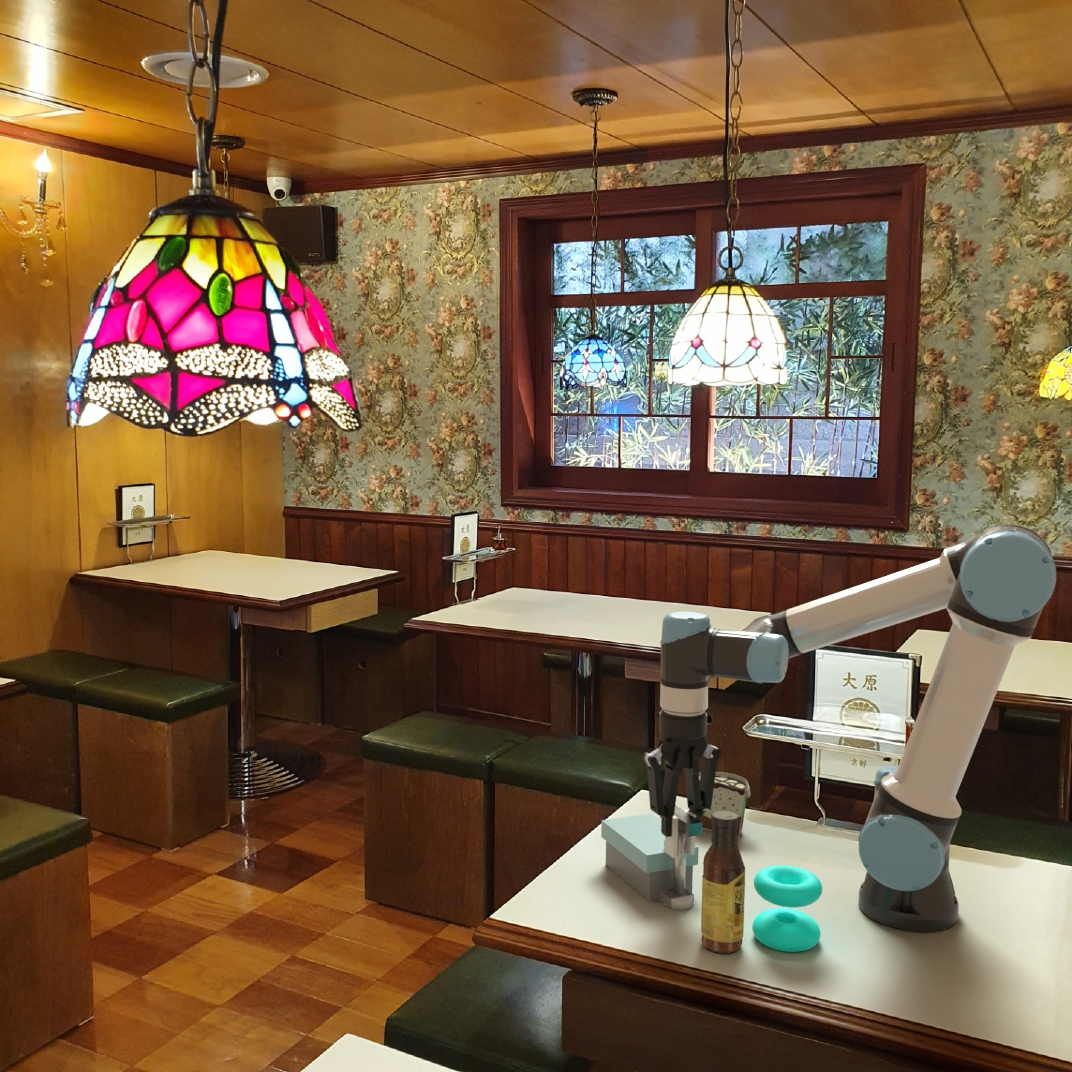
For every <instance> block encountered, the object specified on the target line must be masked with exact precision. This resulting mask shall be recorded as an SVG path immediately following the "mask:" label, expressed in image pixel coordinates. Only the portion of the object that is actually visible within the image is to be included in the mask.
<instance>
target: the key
mask: <svg viewBox="0 0 1072 1072" xmlns="http://www.w3.org/2000/svg"><path fill="white" fill-rule="evenodd" d="M684 810H685V809H682V808H681V807H679V806H678V805H676V804H675V811H674V815H675V816H676V817H678V850H677V858H673V893H674V894H678V895H682V894H685V879H686V840H687V837H691V836H695V837H697V836H702V835H703V829H702V822H701V821H699V820H698V819H696V818H695V817H693V816H692V815H690V814H689V813H687V812H685V811H684ZM659 818H660V819H661V816H659ZM664 847H665V839H664Z"/></svg>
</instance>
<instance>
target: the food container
mask: <svg viewBox="0 0 1072 1072" xmlns="http://www.w3.org/2000/svg"><path fill="white" fill-rule="evenodd" d="M700 776H701V772H699V783H700ZM751 795H752V794H751V788H750V785H749V782H748V780H747V779H746V778H744V777H743V776H740V775H738V774H734V773H730V772H729V773H728V772H722V771H721V772H720V771H716V774H715V782H714V790H713V798H712V805H711V807H710V808H709V809H707V808H706V809H704V810H703V811H704V814H703V815H702V816H700V821H701V822H702V830H704V831H710V832H712V824H711V815H712V813H713V812H717V811H729V812H733V813H736V814H737V815H738V816H739V825H738V827H737V831H738V833H737V838H741V836H742V833H743V826H744V818H745V813H746V806H747V798H750V797H751Z"/></svg>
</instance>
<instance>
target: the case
mask: <svg viewBox="0 0 1072 1072" xmlns="http://www.w3.org/2000/svg"><path fill="white" fill-rule="evenodd" d="M605 866H607V867H608V868H609V869H610V870H611V871H613V872H614V873H615V874H616V875H617V874H618V875H617V876H618V877H619V878H620V879H623V881H624V882H626V883H627V884H628V885H629V886H630V887H632V888H633V890H635V891H637V892H638V893H639V894H640V895H641V896H642V897H643V898H645V900H646V901H648V902H655V901H660V902H661V903H662V904H663V905H665V907H668V909H672V910H675V911H683V910H685V911H686V910H689V909H690V908H692V907H693V905H694V904H695V902H694V901H695V898H694V897H695V894H693V877H694V876H693V874H694V873H693V872H694V865H693V866H687V867H686V879H685V894H682V895H678V894H674V893H673V869H669V870H663V871H657V872H651V873H645V872H644V871H643V870H642V869H641V868H639V867H638V866H637V865H636V864H634V863H633V862H632V861H631V860H629V859H628V858H627V857H626V856H624V855H623V854H622V853H621V852H619V851H618V850H617V849H616V848H614V847H613V846H612V845H611V844H609V843H608V842H607V841H606V840H605Z"/></svg>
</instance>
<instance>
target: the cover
mask: <svg viewBox="0 0 1072 1072" xmlns="http://www.w3.org/2000/svg"><path fill="white" fill-rule="evenodd" d="M600 829H601V832H600V837H601V838H602V839H603V840H604V841H605V842H606V841H607V842H608V843H609V844H611V845H612V846H613V847H614V848H616V849H617V850H618V851H619V852H621V853H622V854H623V855H624V856H626V857H627V858H628V859H629V860H631V861H632V862H633V863H634V864H636V865H637V866H638V867H639V868H641V869H642V870H643V871H644V872H645V873H651V872H657V871H663V870H669V869H673V858H672V857H671V856H670V855H668V854H667V853H666V852H665V847H664V839H665V836H664V835H663V834H662V832H661V820H660V819H659V818H658V817H656V816H654V815H653V814H652V813H645V814H637V815H630V816H629V815H628V816H622V817H616V818H610V819H609V818H608V819H602V820H601V828H600ZM687 866H693V867H694V866H699V846H698V845H696V844H695V855H690V854H688V853H687V852H686V867H687Z"/></svg>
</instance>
